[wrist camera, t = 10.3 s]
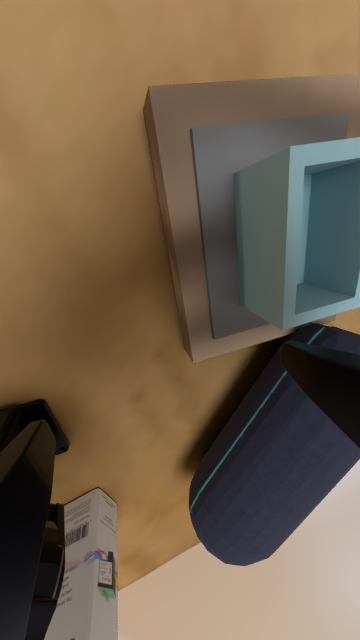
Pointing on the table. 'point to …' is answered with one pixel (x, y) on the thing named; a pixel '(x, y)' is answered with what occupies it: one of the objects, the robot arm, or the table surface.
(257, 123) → the walnut stand
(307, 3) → the table surface
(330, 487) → the portable speaker
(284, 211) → the box
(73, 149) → the table surface
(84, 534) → the ink box
